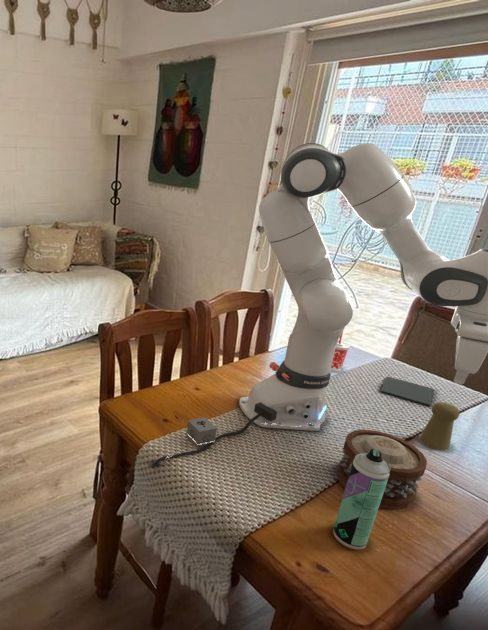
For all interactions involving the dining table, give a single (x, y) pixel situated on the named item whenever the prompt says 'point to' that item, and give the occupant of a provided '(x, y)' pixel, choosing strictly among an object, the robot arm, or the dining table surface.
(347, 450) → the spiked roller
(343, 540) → the spray can
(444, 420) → the olive tapered cylinder
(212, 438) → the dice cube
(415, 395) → the plate
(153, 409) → the dining table surface
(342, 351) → the beverage cup
